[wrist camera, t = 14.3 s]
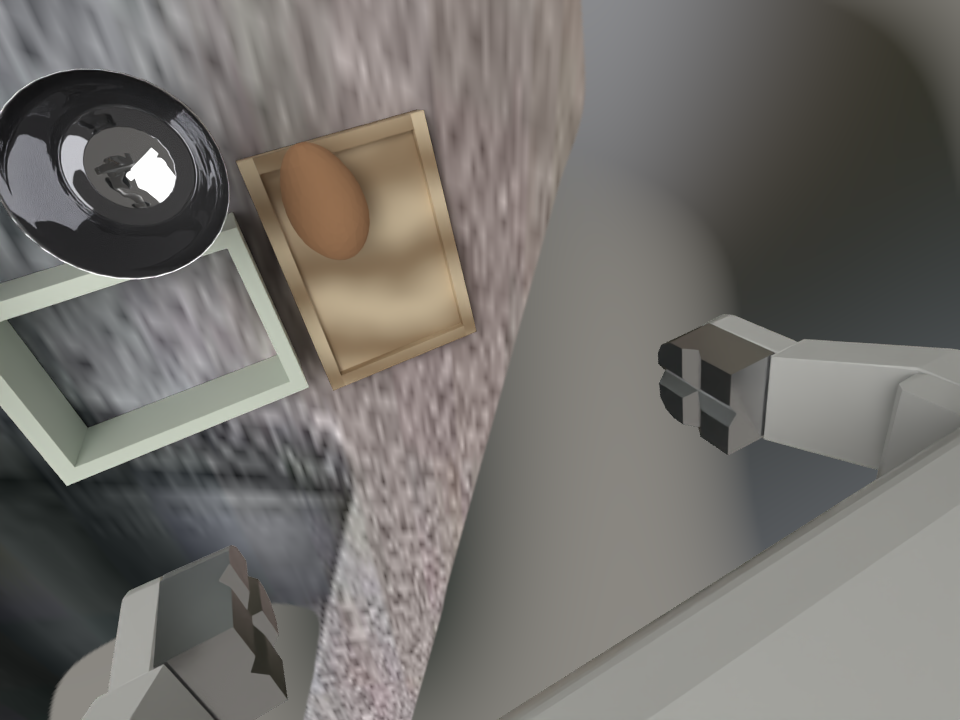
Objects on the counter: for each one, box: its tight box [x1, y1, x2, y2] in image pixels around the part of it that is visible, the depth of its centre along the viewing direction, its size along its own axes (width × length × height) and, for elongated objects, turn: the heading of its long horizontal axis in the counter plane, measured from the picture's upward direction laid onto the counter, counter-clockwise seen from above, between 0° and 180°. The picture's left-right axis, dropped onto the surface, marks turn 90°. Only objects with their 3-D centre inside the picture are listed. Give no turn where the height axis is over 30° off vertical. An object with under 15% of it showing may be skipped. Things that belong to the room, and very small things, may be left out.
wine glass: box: [0, 69, 230, 279], centre depth 28 cm, size 8×8×15 cm
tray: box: [236, 110, 476, 391], centre depth 42 cm, size 18×13×2 cm
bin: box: [0, 212, 309, 486], centre depth 36 cm, size 12×16×5 cm
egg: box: [280, 142, 370, 260], centre depth 36 cm, size 5×5×8 cm
